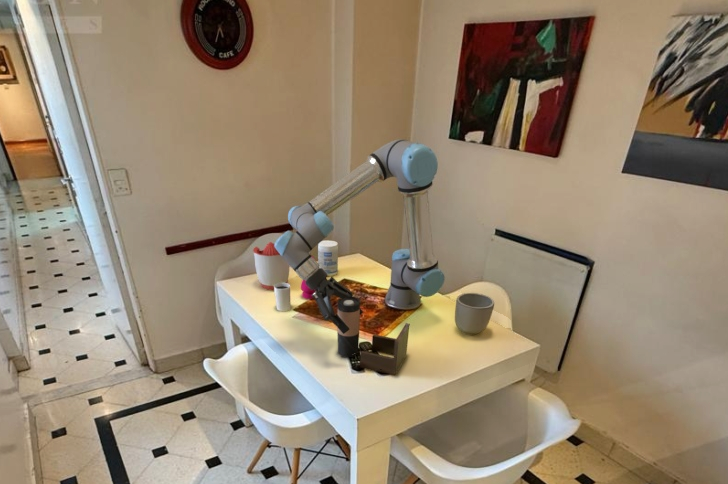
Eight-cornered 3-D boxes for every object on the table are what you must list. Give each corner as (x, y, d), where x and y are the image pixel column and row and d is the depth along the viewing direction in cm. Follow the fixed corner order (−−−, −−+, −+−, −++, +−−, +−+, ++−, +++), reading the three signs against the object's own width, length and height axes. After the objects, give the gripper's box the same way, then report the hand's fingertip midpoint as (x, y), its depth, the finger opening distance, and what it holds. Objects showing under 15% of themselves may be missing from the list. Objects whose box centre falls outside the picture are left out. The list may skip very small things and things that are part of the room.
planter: (464, 319, 187) (469, 289, 179) (494, 331, 179) (501, 300, 171) (444, 330, 179) (449, 299, 171) (475, 343, 171) (481, 312, 163)
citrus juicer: (275, 275, 222) (272, 233, 211) (297, 285, 212) (295, 242, 200) (248, 283, 214) (243, 240, 202) (269, 295, 204) (265, 250, 192)
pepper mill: (320, 295, 204) (320, 250, 192) (311, 301, 199) (309, 255, 187) (307, 291, 207) (306, 247, 195) (298, 297, 202) (295, 252, 190)
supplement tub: (325, 278, 220) (324, 247, 211) (314, 272, 226) (313, 242, 217) (341, 274, 224) (342, 244, 216) (330, 268, 231) (330, 238, 222)
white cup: (287, 312, 190) (286, 290, 184) (273, 310, 192) (271, 287, 186) (294, 306, 195) (292, 283, 189) (279, 303, 197) (278, 281, 191)
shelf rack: (372, 348, 167) (374, 317, 160) (406, 355, 164) (409, 323, 156) (360, 367, 157) (361, 334, 149) (395, 375, 153) (398, 342, 146)
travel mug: (356, 359, 161) (358, 306, 150) (335, 356, 163) (335, 304, 151) (360, 348, 167) (362, 297, 156) (339, 345, 169) (339, 295, 157)
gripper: (320, 267, 165) (358, 313, 169) (288, 295, 146) (332, 345, 150) (333, 255, 160) (373, 302, 164) (302, 281, 141) (348, 333, 146)
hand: (353, 322), depth 157 cm, fingers open, 13 cm apart
